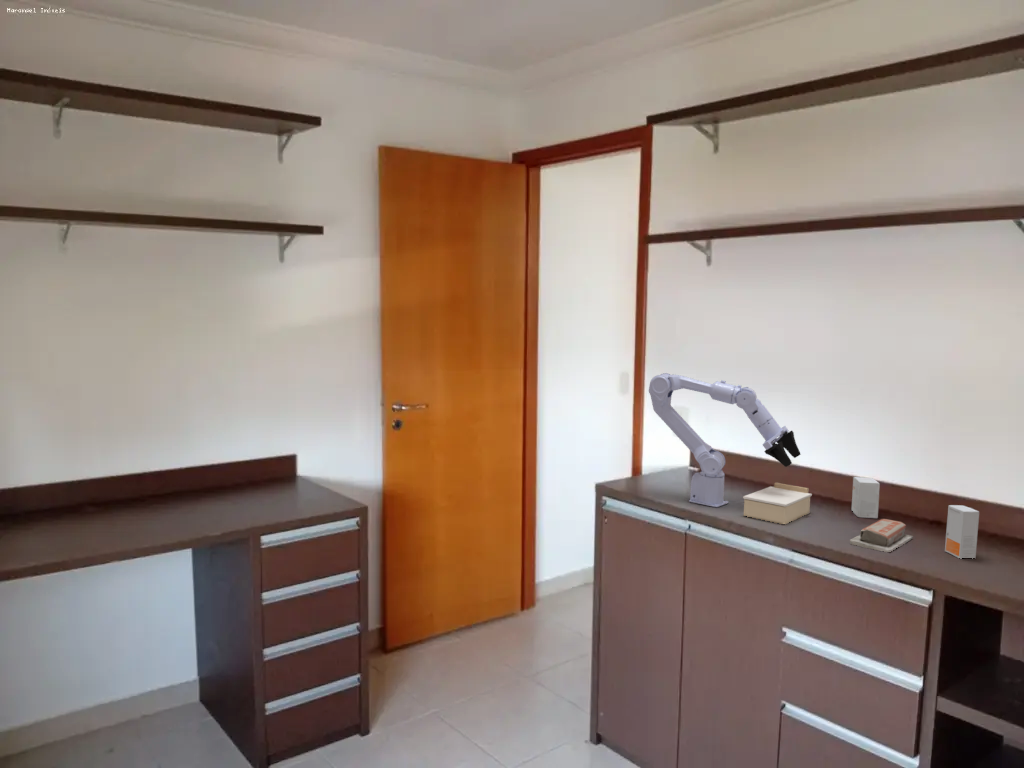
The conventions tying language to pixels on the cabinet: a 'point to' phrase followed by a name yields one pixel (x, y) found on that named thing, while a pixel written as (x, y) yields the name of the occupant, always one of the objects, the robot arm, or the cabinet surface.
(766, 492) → the lid
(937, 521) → the cabinet surface
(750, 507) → the box
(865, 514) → the small box
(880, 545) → the packaged product
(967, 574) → the cabinet surface
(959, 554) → the skincare box
